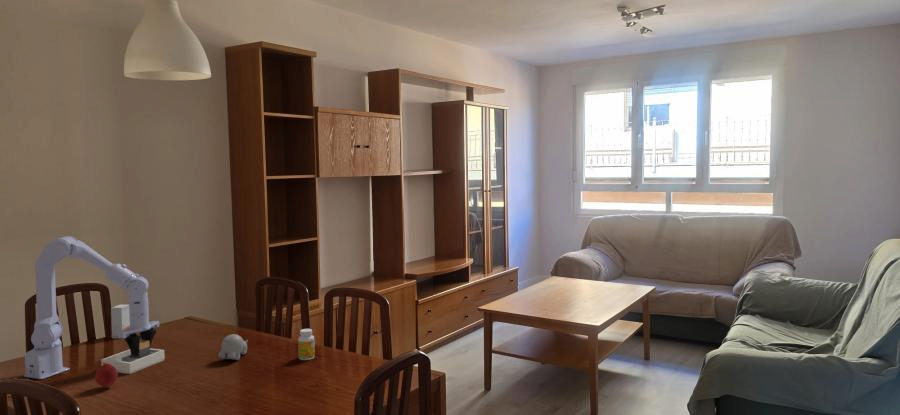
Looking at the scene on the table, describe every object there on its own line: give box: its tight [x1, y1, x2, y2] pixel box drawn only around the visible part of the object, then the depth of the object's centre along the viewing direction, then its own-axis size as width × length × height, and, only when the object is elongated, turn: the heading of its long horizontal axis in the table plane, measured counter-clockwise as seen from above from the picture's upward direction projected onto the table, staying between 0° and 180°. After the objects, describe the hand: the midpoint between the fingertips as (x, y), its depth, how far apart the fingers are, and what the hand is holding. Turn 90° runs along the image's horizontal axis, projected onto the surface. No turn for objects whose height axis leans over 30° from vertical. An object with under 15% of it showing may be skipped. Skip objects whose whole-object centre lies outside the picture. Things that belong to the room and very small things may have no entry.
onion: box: [94, 362, 119, 389], centre depth 173 cm, size 6×6×8 cm
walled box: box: [100, 347, 166, 375], centre depth 193 cm, size 14×12×4 cm
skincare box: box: [110, 303, 130, 339], centre depth 226 cm, size 6×4×12 cm
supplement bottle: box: [297, 328, 316, 361], centre depth 199 cm, size 5×5×10 cm
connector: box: [131, 338, 151, 359], centre depth 195 cm, size 4×4×6 cm
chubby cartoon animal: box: [217, 333, 249, 361], centre depth 200 cm, size 7×12×8 cm, turn 162°
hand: (140, 353), depth 195 cm, fingers closed on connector, 4 cm apart
